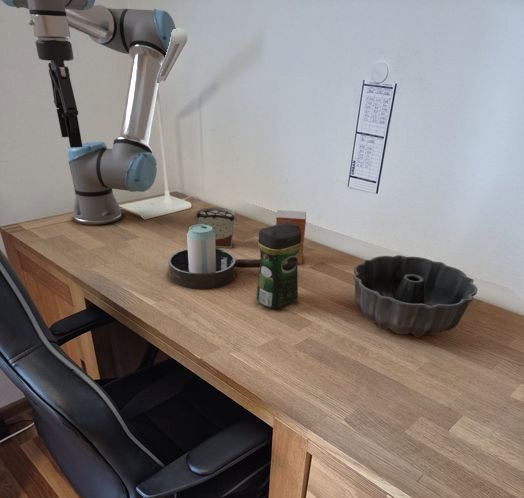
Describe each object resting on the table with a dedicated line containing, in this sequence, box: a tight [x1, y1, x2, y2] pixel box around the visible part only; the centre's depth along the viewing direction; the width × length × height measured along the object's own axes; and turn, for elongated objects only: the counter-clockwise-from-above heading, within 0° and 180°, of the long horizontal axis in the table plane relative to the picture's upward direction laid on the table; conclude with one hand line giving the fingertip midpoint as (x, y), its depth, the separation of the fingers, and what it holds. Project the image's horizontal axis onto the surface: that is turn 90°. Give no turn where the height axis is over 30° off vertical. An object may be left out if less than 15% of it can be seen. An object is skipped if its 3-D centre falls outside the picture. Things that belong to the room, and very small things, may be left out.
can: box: [186, 224, 217, 273], centre depth 117 cm, size 7×7×12 cm
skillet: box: [167, 248, 236, 290], centre depth 119 cm, size 17×17×4 cm
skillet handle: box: [235, 258, 260, 269], centre depth 120 cm, size 13×2×2 cm, turn 95°
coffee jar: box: [256, 222, 301, 310], centre depth 104 cm, size 10×8×19 cm
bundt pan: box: [352, 254, 478, 338], centre depth 103 cm, size 26×26×10 cm
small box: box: [275, 209, 307, 265], centre depth 127 cm, size 8×6×13 cm
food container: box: [194, 207, 238, 249], centre depth 136 cm, size 12×6×10 cm, turn 84°
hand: (71, 141), depth 114 cm, fingers open, 13 cm apart
